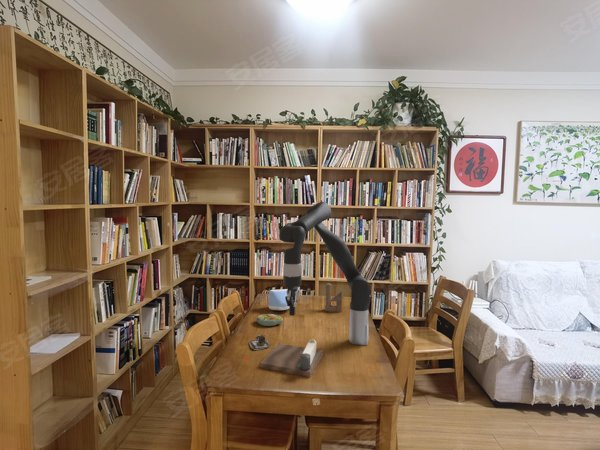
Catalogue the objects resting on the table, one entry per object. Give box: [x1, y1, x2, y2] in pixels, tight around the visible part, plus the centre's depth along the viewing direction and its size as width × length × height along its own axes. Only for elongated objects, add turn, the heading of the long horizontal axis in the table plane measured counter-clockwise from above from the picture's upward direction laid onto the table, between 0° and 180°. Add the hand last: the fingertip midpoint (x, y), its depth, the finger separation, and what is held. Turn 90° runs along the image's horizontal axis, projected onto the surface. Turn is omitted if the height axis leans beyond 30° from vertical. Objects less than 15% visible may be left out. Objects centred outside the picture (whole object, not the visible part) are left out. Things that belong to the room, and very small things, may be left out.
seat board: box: [259, 343, 324, 378], centre depth 137 cm, size 22×20×2 cm
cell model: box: [256, 313, 284, 327], centre depth 179 cm, size 11×8×15 cm
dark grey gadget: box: [249, 334, 270, 351], centre depth 153 cm, size 12×6×11 cm
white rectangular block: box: [300, 338, 317, 370], centre depth 133 cm, size 18×4×6 cm, turn 166°
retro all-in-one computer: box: [268, 288, 289, 311], centre depth 203 cm, size 21×19×14 cm
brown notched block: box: [324, 282, 343, 313], centre depth 203 cm, size 4×11×18 cm, turn 81°
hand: (292, 314), depth 130 cm, fingers closed
